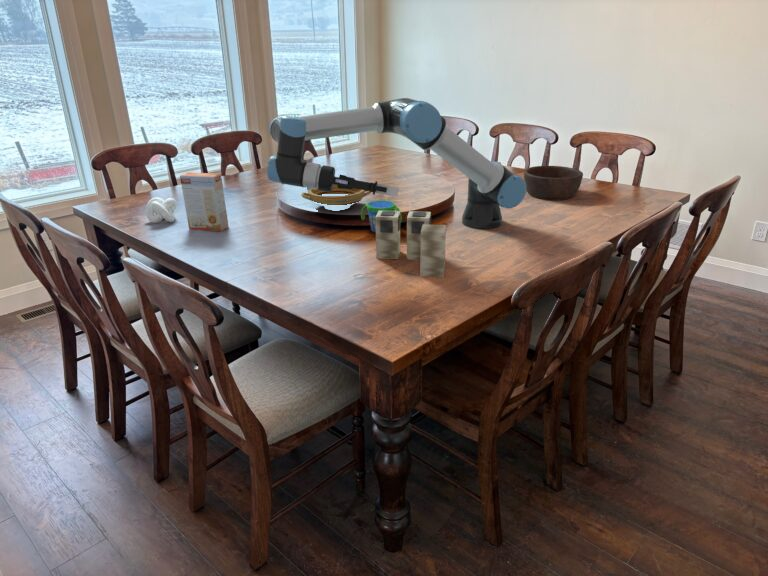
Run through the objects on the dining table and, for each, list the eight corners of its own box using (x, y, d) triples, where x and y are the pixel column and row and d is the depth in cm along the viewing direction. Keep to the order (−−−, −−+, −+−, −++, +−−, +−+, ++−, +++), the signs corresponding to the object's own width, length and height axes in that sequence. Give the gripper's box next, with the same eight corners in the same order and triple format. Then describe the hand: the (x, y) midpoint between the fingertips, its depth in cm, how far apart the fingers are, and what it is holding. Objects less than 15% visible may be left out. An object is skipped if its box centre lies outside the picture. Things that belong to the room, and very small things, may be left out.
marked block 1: (430, 252, 184) (431, 211, 178) (429, 260, 178) (430, 217, 172) (409, 251, 185) (409, 210, 179) (406, 259, 179) (406, 217, 173)
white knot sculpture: (167, 214, 228) (163, 193, 225) (187, 218, 223) (183, 197, 219) (143, 222, 220) (139, 200, 216) (164, 226, 214) (159, 204, 210)
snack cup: (406, 229, 206) (406, 203, 202) (393, 238, 198) (392, 210, 193) (370, 223, 213) (369, 197, 209) (356, 231, 205) (355, 205, 200)
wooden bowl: (587, 201, 235) (591, 178, 231) (528, 202, 236) (530, 178, 232) (570, 187, 258) (573, 165, 254) (517, 187, 259) (518, 165, 254)
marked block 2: (401, 251, 186) (400, 210, 180) (398, 259, 179) (398, 216, 173) (379, 250, 187) (378, 209, 181) (376, 258, 180) (375, 216, 174)
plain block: (444, 267, 172) (446, 225, 166) (443, 276, 166) (444, 232, 160) (422, 267, 173) (422, 224, 167) (420, 275, 167) (420, 231, 161)
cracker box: (229, 227, 212) (221, 173, 203) (221, 232, 207) (213, 176, 198) (197, 224, 215) (188, 171, 207) (188, 229, 210) (179, 175, 201)
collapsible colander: (366, 197, 247) (366, 179, 244) (377, 213, 226) (377, 193, 222) (300, 202, 242) (298, 184, 238) (304, 218, 220) (303, 199, 217)
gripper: (321, 190, 171) (396, 204, 171) (314, 190, 158) (395, 205, 158) (325, 165, 170) (400, 180, 170) (318, 163, 157) (399, 179, 157)
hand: (397, 192), depth 164 cm, fingers closed
